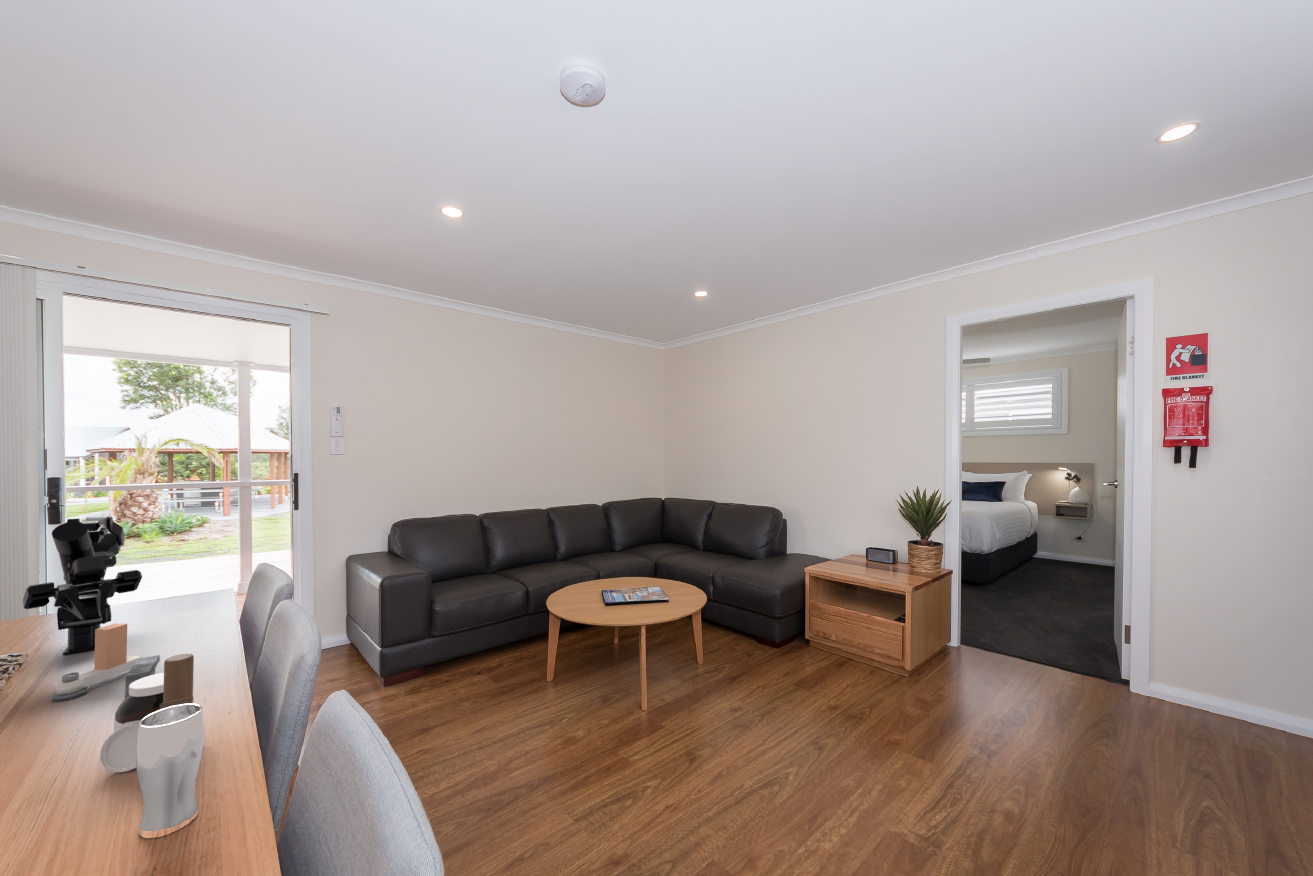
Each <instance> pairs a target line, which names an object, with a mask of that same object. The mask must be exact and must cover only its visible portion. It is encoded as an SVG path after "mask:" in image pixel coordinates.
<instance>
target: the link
mask: <svg viewBox="0 0 1313 876" xmlns="http://www.w3.org/2000/svg"><path fill="white" fill-rule="evenodd" d="M127 648H128V623H119V622H118V623H117V622H115V623H112V624H108V625H105V626H103V627H100V628H98V629H95V649H94V662H93V663H94V666H93V667H94V669H92V670H91V669H90V670H88V671H86V672H83V673H81V674H80V673H79V678H78V679H77V680H74V681H70V682H62V679H61V680H58V681H57V682H56V683H55V692H56V694H57V695H63V694H69V693H73V692H76V691H79V690H81V689H83V688H84V687H90V686H92V685H95V684H97V683H99V682H102V681H105V680H108V679H110V678H113V677H115V676H118V675H121V674H122V673H126V672H129V671H130V669H131V668H132V666H133V665H134V664H135V662H136V661H137V660H138V658H144V656H143V655H141V656H139V655H137V656H136V655H130V656H127V653H128V652H127V650H128V649H127Z"/></svg>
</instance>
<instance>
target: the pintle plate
mask: <svg viewBox="0 0 1313 876" xmlns="http://www.w3.org/2000/svg"><path fill="white" fill-rule="evenodd" d="M79 675H80V673H79V672H71V673H66V674H64V675H62V676H61V680H62V682H70V681H74V680H77V679H78V678H79ZM88 687H89V686H87V687H84V688H83V689H81V690H79V691H76V692H73V693H69V694H63V695H57V694H56V691H55V692H54V693H52V694H51V702H54V703H55V702H56V703H57V702H65V701H70V700H74V699H77V698H80V697H83V696H85V695H87V693H88V689H89V688H88Z"/></svg>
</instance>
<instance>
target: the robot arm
mask: <svg viewBox="0 0 1313 876" xmlns="http://www.w3.org/2000/svg"><path fill="white" fill-rule="evenodd" d="M51 536H52V539H53V542H54V545H55V547H56V551H57V552H58V555H59V559H60V565H61V569H62V572H63V577H62V578H63V581H65V583H64V584H58V585H57V586H56V587H55V583H54V582H53V581H51V582H42V583H37V584H30V585H29V586H28V587H27V588H25V592H24V596H23V599H22V604H23V609H25V610H31V609H37V608H43V607H45V606H47V605H48V604H49V603H50V598H53V599H55V601H54V603H53V606H54V608H57V611H56V618H57V629H58V631H62V630H66V629H67V646H66V648H65V649H64V651H63V652H62V655H68V654H69V655H70V654H74V653H76V654H77V653H81V652H87V651H88V652H89V651H93V650H94V651H95V629H98V628H101V625H102V624H103V625H104V624H106V623H109V622H112V609H111V605H110V604H109V601H108V598H109V599H110V598H112V597H113V596H114V595H115V593H118V594H125V593H130V592H134V591H136V590H138V587H139V585H140V583H141V581H142V579H143V574H142V572H141V571H140V570H138V569H132V570H125V571H120V572H117V574H116V575H115V576H116V577H115V578H107V579H105V576H106V572H107V569H108V568H113V567H114V566H115V565H116V564H117V557H116V556H117V555H118V554H119V553H120V551H121V548H122V547H123V546H124V545H125V532H124V528H123V526H121V525H119V523H116V522H114V518H113V516H109V515H101V516H99V515H98V516H97V515H96V516H89V517H86V518H85V519H84V520H83V521H81V520H80V518H68V519H67V520H66V522H64V523H62V524H60V525H57V526H56V527H55V528H54V529H53V530H52V531H51ZM113 598H114V597H113Z"/></svg>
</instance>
